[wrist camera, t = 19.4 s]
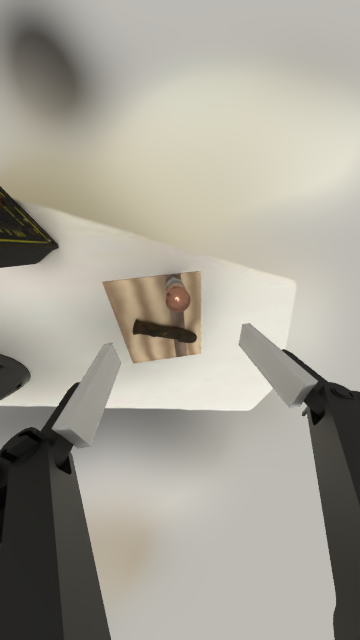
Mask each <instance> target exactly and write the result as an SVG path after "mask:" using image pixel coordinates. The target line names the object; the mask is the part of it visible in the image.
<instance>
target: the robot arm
mask: <svg viewBox="0 0 360 640" xmlns="http://www.w3.org/2000/svg"><path fill="white" fill-rule="evenodd" d="M239 346H240V347H241V348H242V350H243V351H244V352H245V353H246V355H247V356H248V357H249V358H250V360H251V361H252V362H253V363H254V365H255V366H256V367H257V368H258V370H259V371H260V372H261V373H262V375H263V376H264V377H265V378H266V380H267V381H268V382H269V383H270V385H271V386H272V387H273V388H274V390H275V391H276V392H277V393H278V395H279V396H280V397H281V398H282V400H283V401H284V402H285V403H286V405H287V406H288V407H289V408H294V407H300V406H301V404H302V403H303V402H305V403H306V404H307V407H306V409H305V410H304V411H303V412H302V416H305V415H306V414H307V416H308V417H307V418H308V422H309V428H310V435H311V441H312V447H313V453H314V459H315V466H316V472H317V479H318V485H319V490H320V497H321V503H322V510H323V516H324V523H325V529H326V535H327V541H328V548H329V554H330V560H331V566H332V573H333V579H334V585H335V592H336V607H335V611H334V615H333V616H334V617H333V626H334V637H335V640H360V392H358V391H350V390H348V389H347V388H345V387H344V386H341V385H339V384H336V383H332V382H328V381H326V380H325V379H324V378H322V377H321V376H320V375H318V374H317V373H316V372H315V371H314V370H312V369H311V368H310V367H309V366H307V365H306V364H304V363H303V362H302V361H301V360H299V359H298V358H297V357H296V356H295V355H294V354H292V353H290V352H289V351H287V350H285V349H283V350H281V349H279V348H278V347H277V346H276V345H275V344H274V343H272V342H271V341H270V340H269V339H268V338H266V337H265V336H264V335H263V334H262V333H261V332H259V331H258V330H257V329H256V328H255V327H253V326H252V325H251V324H250V323H248V324H242V329H241V335H240V340H239ZM120 365H121V361H120V359H119V357H118V355H117V352H116V350H115V348H114V346H113V344H112V343H108V344H104V345H103V347H102V348H101V350H100V351H99V353H98V355H97V356H96V358H95V360H94V361H93V363H92V364H91V366H90V368H89V369H88V371H87V372H86V374H85V376H84V377H83V379H82V381H81V382H78V383H75V384H74V385H73V386H72V387H71V388H70V389H69V390H68V391H67V393H66V394H65V396H64V397H63V399H62V400H61V402H60V403H59V406H57V408H56V409H55V411H54V413H53V414H52V415H51V417H50V418H49V420H48V421H47V423H46V424H45V426H44V427H43V429H42V430H41V431H39V430H38V429H36V428H33V427H30V428H27V429H24V430H22V431H21V432H19V433H17V434H16V435H15V436H14V437H12V438H11V439H10V440H9V441H8V442H7V443H6V444H5V445H4V446H3V447H2V449H1V450H0V640H111V637H110V632H109V628H108V624H107V618H106V613H105V609H104V604H103V600H102V595H101V590H100V585H99V580H98V576H97V571H96V566H95V562H94V556H93V552H92V547H91V542H90V537H89V533H88V528H87V523H86V519H85V514H84V509H83V504H82V499H81V495H80V490H79V485H78V481H77V476H76V471H75V466H74V461H73V457H72V454H71V452H70V451H71V449H72V447H73V445H74V446H75V447H77V448H83V447H89V446H91V444H92V442H93V439H94V435H95V433H96V430H97V428H98V425H99V422H100V420H101V417H102V414H103V411H104V409H105V406H106V403H107V400H108V398H109V395H110V392H111V390H112V387H113V384H114V381H115V379H116V376H117V373H118V370H119V368H120ZM29 379H30V374H29V371H28V370H27V369H26V368H25V367H24V366H23V365H22V364H20V363H19V362H17V361H15V360H13V359H11V358H8V357H6V356H2V355H0V400H2V399H4V398H5V397H7V396H9V395H10V394H12V393H14V392H15V391H17V390H19V389H20V388H21V387H23V386H24V385H25V384H26V383H27V382H28V381H29Z"/></svg>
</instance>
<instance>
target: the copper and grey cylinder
mask: <svg viewBox="0 0 360 640" xmlns="http://www.w3.org/2000/svg"><path fill="white" fill-rule="evenodd" d="M165 296H166V305H167V307H168V308H169V309H170V310H171V311H173V312H177V313H178V312H183V311H185V310H186V309H187V308H188V307H189V305H190V302H191V298H190V295H189V293H188V291H187V290H186V288H185V286H184V284H183V283H182V281H181V279H180V278H179V277H177V276H170V277H168V278H167V280H166V282H165Z"/></svg>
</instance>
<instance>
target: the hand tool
mask: <svg viewBox="0 0 360 640" xmlns="http://www.w3.org/2000/svg"><path fill="white" fill-rule="evenodd" d="M132 332H133V335H137V334H142V335H149V336H151V337H162V338H168V339H175V340H178V342H184V343H194V342H195V341H196V340H197V336H196V334H195V333H193V332H191V331H189V330H185V329H183V328H180V329H176V328H171V327H167V326H161V325H157V324H152V323H145V322H140V321H138V319H136V320H135V323H134V325H133V330H132Z"/></svg>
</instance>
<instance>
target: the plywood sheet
mask: <svg viewBox="0 0 360 640" xmlns="http://www.w3.org/2000/svg"><path fill="white" fill-rule="evenodd" d="M170 276H177V277H179V278H180V279H181V281H182V283H183V284H184V286H185V288H186V290H187V291H188V293H189V295H190V298H191V302H190V305H189V307H188V308H187V309H186V310H185V311H183V312H178V313H177V312H173V311H171V310H170V309H169V308H168V307H167V305H166V296H165V282H166V280H167V278H168V277H170ZM102 283H103V285H104V288H105V290H106V293H107V296H108V298H109V301H110V303H111V306H112V309H113V311H114V314H115V316H116V319H117V322H118V324H119V327H120V330H121V332H122V335H123V337H124V340H125V343H126V345H127V348H128V350H129V353H130V356H131V358H132V361H133V363H140V362H146V361H153V360H160V359H167V358H174V357H181V356H188V355H194V354H201V274H200V271H199V272H189V273H180V274H171V275H162V276H153V277H144V278H135V279H125V280H116V281H107V282H102ZM136 319H138V321H140V322H145V323H152V324H157V325H161V326H167V327H171V328H176V329H180V328H183V329H185V330H189V331H191V332H193V333H195V334H196V336H197V340H196V341H195V342H194V343H184V342H178V340H175V339H168V338H162V337H151V336H149V335H142V334H137V335H133V332H132V330H133V325H134V323H135V320H136Z"/></svg>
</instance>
